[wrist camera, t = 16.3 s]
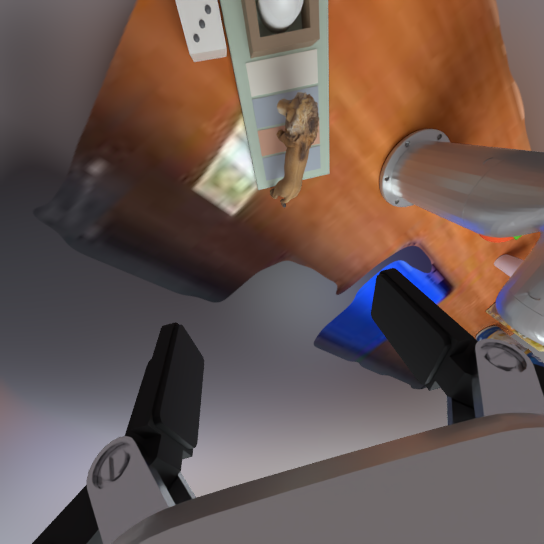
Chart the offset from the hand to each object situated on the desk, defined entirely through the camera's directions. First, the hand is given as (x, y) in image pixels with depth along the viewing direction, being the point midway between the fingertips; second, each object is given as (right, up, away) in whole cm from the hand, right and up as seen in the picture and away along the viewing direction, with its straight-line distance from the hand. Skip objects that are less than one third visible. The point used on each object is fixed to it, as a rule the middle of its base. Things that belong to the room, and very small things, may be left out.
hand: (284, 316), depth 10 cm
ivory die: (-9, +30, +15) cm, 34 cm away
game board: (+1, +27, +19) cm, 33 cm away
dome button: (0, +32, +13) cm, 34 cm away
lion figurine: (+1, +20, +22) cm, 30 cm away
